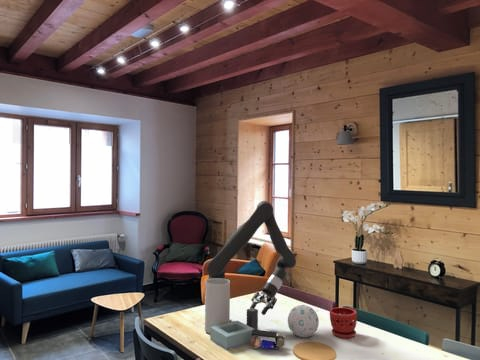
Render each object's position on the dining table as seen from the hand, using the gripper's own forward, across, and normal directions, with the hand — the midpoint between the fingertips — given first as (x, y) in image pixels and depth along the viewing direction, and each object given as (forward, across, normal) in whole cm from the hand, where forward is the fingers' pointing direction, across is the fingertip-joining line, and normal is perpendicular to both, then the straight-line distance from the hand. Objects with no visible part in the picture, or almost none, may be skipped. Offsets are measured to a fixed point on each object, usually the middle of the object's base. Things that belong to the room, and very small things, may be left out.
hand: (256, 312), depth 194 cm
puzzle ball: (-2, +20, +15) cm, 26 cm away
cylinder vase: (+18, -12, -5) cm, 22 cm away
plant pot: (-14, +32, +27) cm, 44 cm away
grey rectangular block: (+9, 0, +4) cm, 10 cm away
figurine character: (+15, +19, -1) cm, 24 cm away
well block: (+19, +3, -7) cm, 21 cm away
